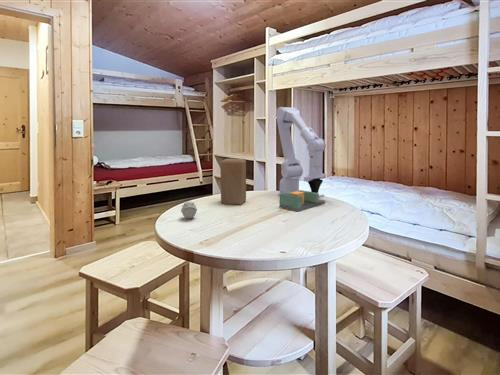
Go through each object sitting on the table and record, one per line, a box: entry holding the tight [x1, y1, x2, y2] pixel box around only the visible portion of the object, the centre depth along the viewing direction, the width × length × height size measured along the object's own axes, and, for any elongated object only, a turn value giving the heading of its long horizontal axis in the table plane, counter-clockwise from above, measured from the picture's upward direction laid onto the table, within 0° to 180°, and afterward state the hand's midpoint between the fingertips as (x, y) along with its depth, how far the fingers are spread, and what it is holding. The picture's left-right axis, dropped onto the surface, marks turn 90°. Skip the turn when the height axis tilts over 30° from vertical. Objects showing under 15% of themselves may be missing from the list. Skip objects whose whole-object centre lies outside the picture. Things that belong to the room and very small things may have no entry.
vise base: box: [278, 193, 326, 212], centre depth 149 cm, size 10×20×6 cm, turn 134°
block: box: [219, 158, 247, 206], centre depth 154 cm, size 10×10×20 cm
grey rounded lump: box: [180, 200, 198, 219], centre depth 129 cm, size 6×7×7 cm
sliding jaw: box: [299, 189, 325, 203], centre depth 154 cm, size 10×7×4 cm
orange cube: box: [290, 191, 304, 204], centre depth 146 cm, size 4×5×5 cm
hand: (314, 195), depth 156 cm, fingers closed
